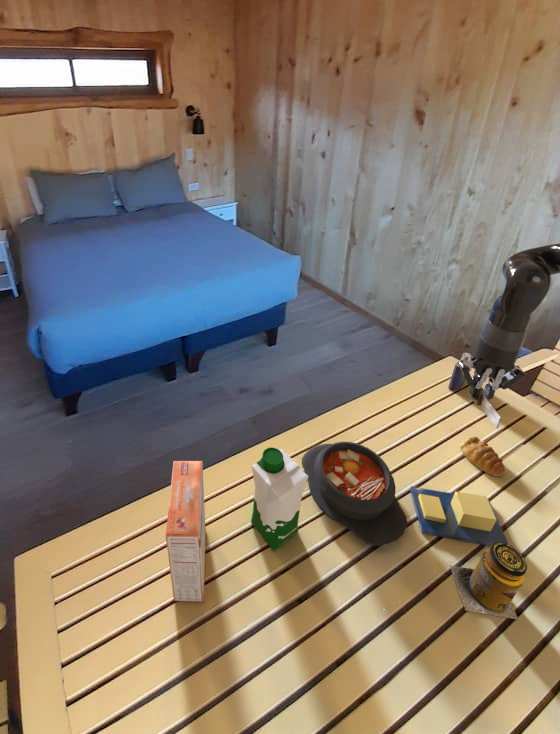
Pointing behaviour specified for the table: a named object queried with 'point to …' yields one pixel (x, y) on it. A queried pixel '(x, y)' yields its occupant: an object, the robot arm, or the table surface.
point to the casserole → (355, 491)
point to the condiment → (492, 581)
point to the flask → (458, 374)
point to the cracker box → (187, 531)
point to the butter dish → (452, 523)
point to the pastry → (482, 456)
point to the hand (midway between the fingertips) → (479, 397)
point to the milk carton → (277, 496)
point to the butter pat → (432, 508)
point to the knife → (487, 407)
